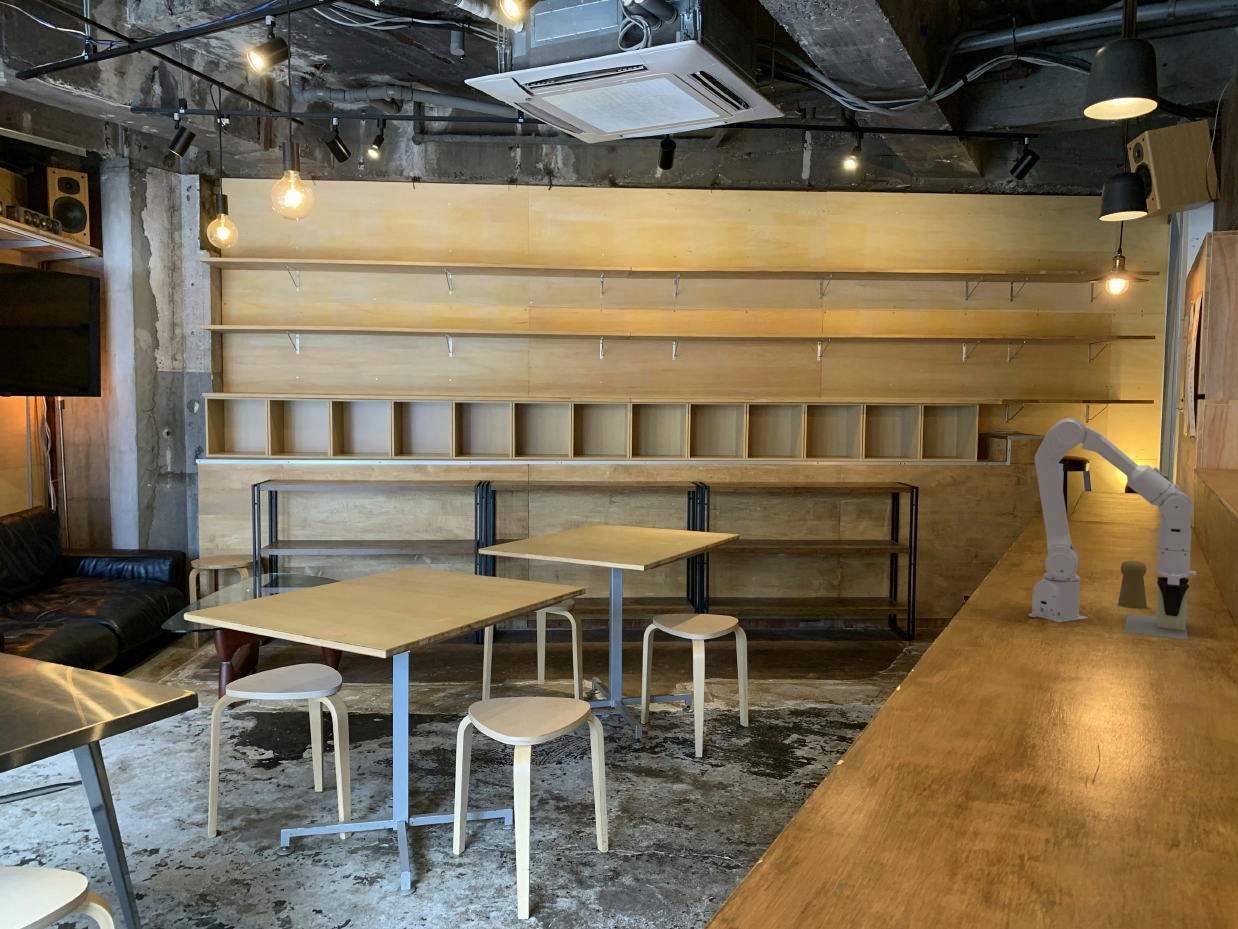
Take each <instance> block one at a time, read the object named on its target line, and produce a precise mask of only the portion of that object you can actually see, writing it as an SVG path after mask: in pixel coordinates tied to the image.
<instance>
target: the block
mask: <svg viewBox="0 0 1238 929" xmlns="http://www.w3.org/2000/svg"><path fill="white" fill-rule="evenodd" d="M1157 596H1158V598H1157V627H1161V628H1170V629H1179V630H1185V629H1186V628H1187V604H1188V603H1187V602H1188V590H1187V591H1186V592H1185V594H1184V596H1183V599H1182V602H1181V607H1180V611H1179V614H1178V616H1168V615H1166V613H1165V609H1164V602H1163V596H1162V593H1161V590H1160V588H1159V587H1158V594H1157Z"/></svg>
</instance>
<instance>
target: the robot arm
mask: <svg viewBox="0 0 1238 929" xmlns="http://www.w3.org/2000/svg"><path fill="white" fill-rule="evenodd" d="M1080 444H1082V446H1080V449H1081V450H1087V451H1091V452H1095V453H1096V454H1098V456H1101V457H1102V458H1103V459H1105V460H1106V461H1107V462H1108V463H1110V464H1111V465H1112V466H1114V467H1115V468H1116V469H1117V470H1118V471H1120V472H1122V473H1123V474H1124V475H1125V476H1126V477H1127V479H1126V482H1127V486H1128V487H1129V488H1131V489H1132V490H1133V491H1134V492H1136V493H1137V494H1138V495H1139V496H1140V497H1142V498H1143V499H1144V500H1145V501H1146V502H1147V503H1149V504H1150V505H1152V506H1157V507H1158V509H1159V511H1160V513H1161V514H1160V524H1159V527H1158V541H1157V543H1158V546H1157V547H1158V548H1157V567H1156V570H1155V573H1157V574H1158V575H1160V576H1157V578H1156V579H1157V581H1156V584H1157V585H1158V589H1159V588H1160V590H1161V593H1162V596H1163V602H1164V609H1165V613H1166V615H1168V616H1178V614H1179V611H1180V607H1181V602H1182V599H1183V596H1184V594H1185V592H1186V591H1187V592H1188V589H1189V588H1190V584H1188V583H1189V578H1187V577H1190V576H1193V577H1194V576H1197V571H1195V570H1191V568H1190V567H1191V550H1192V549H1191V548H1192V547H1191V545H1192V544H1191V543H1192V528H1191V525H1192V520H1191V516H1192V515H1193V513H1194V511H1195V508H1194V505H1193V502H1192V500H1191V499H1190V497H1189V496H1188V495H1187V494H1186V493H1185V491H1182V490H1179V489H1180V487H1181V486H1179V485H1178V484H1173V483H1171V482H1170V480H1168V479H1167V478H1165V476H1163V475H1161V470H1160V469H1159V468H1157V467H1156V466H1155V467H1154V468H1153V467H1152V466H1150V465H1149V464H1144V465H1142V464H1141V465H1139V464H1137V463H1136V462H1135V461H1133V459H1131V457H1130V456H1128V455H1127V454H1125V453H1124V452H1123V451H1122V450H1121V449H1119V448H1118V447H1117V446H1116V444H1114V443H1113V442H1112V441H1110V440H1109V439H1108V438H1107V437H1106V436H1104V434H1102V433H1101V432H1098V431H1097V430H1095V429H1093V428H1091V427H1090V426H1087V425H1086V426H1085V424H1084V423H1083V422H1082V421H1081V420H1080V419H1076V418H1073V417H1071V418H1068V417H1067V418H1064V419H1060V420H1059V421H1057V422H1056V423H1054V425H1053V426H1052V427H1050V428H1049V429H1048V430H1047V432H1046V434H1045V437H1044V438H1043V440H1042V442H1041V443H1040V445H1039V448H1038V449H1037V451H1036V453H1035V455H1034V464H1035V470H1036V471H1035V472H1036V477H1037V478H1036V479H1037V484H1038V489H1039V496H1040V502H1041V508H1042V514H1043V520H1044V521H1043V522H1044V528H1045V533H1046V547H1047V548H1046V549H1047V556H1046V559H1045V562H1044V567H1045V570H1046V571H1047V572H1044V573H1043V578H1042V580H1039V581H1037V582H1036V583H1035V584H1034V586H1033V588H1032V598H1031V599H1032V602H1031V607H1032V608H1031V613H1029V614H1028V617H1031V618H1036V617H1037V618H1042V619H1045V620H1049V621H1053V622H1058V623H1062V622H1068V621H1076V620H1082V619H1088V618H1089V617H1088V616H1084V615H1080V600H1081V599H1080V597H1081V596H1080V595H1081V577H1080V576H1079V575H1078V574H1077V571H1078V567H1079V564H1080V557H1079V554H1078V552H1077V550H1076V549H1075V548H1074V546H1073V541H1072V538H1071V533H1070V527H1069V521H1068V516H1067V509H1066V501H1065V496H1064V491H1063V484H1062V478H1061V472H1060V470H1061V469H1060V465H1059V463H1060V462H1061V460H1063V459H1064V457H1065V456H1066V455H1067V454H1068V452H1069V451H1070V450H1072V449H1074V448H1075V447H1077V446H1078V445H1080Z"/></svg>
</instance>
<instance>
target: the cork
mask: <svg viewBox="0 0 1238 929" xmlns="http://www.w3.org/2000/svg"><path fill="white" fill-rule="evenodd" d="M1120 572H1121V574H1122V580H1121V584H1120V585H1121V586H1120V590H1119V595H1118V596H1119V597H1118V601H1117V606H1119V607H1122V608H1128V609H1135V610H1136V609H1146V608H1147V607H1148V604H1147V597H1146V590H1145V589H1146V588H1145V579H1144V576H1145V575H1146V574H1147V565H1146V564H1145V563H1144V562H1141V561H1137V560H1125V561H1123V562H1122V563H1121V565H1120Z"/></svg>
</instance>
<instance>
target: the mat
mask: <svg viewBox="0 0 1238 929" xmlns="http://www.w3.org/2000/svg"><path fill="white" fill-rule="evenodd" d="M1157 617H1158V615H1157V616H1153V615H1146V614H1145V615H1144V614H1136V613H1126V620H1125V625H1124V630H1123V633H1125V634H1133V635H1144V636H1152V637H1161V638H1170V639H1176V640H1177V639H1179V640H1186V641H1188V639H1189V638H1188V631H1187V630H1188V629H1187V627H1186V629H1185V630H1179V629H1170V628H1161V627H1157Z"/></svg>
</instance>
